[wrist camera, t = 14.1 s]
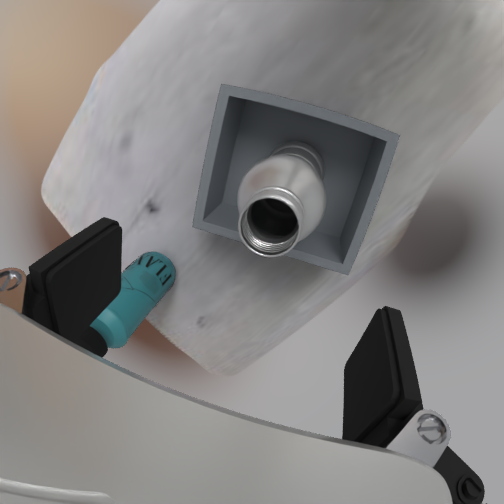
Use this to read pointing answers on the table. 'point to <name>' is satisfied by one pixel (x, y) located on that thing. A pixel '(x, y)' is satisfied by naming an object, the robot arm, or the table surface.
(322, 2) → the table surface
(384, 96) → the table surface
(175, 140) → the table surface
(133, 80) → the table surface
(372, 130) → the bin
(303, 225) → the silver aluminium bottle
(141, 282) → the beverage bottle
